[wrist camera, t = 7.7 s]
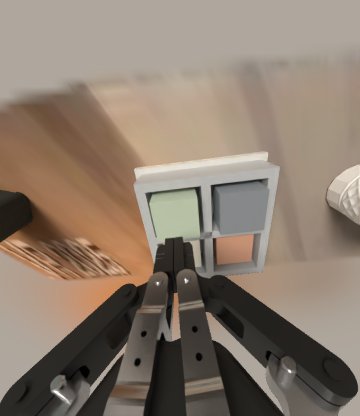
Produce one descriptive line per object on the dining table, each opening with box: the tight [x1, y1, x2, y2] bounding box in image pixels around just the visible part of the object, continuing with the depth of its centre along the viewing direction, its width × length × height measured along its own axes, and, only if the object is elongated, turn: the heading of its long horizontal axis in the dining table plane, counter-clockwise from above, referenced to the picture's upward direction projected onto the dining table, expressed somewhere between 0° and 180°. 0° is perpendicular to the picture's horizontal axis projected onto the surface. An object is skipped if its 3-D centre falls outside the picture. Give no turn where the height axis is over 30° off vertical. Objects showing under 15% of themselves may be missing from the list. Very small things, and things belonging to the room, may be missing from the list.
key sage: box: [149, 187, 200, 242], centre depth 19 cm, size 5×5×3 cm
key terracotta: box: [213, 234, 254, 265], centre depth 24 cm, size 5×5×3 cm
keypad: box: [134, 152, 280, 278], centre depth 22 cm, size 16×16×5 cm
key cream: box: [163, 240, 202, 267], centre depth 24 cm, size 5×5×3 cm
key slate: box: [213, 179, 270, 235], centre depth 18 cm, size 5×5×3 cm
